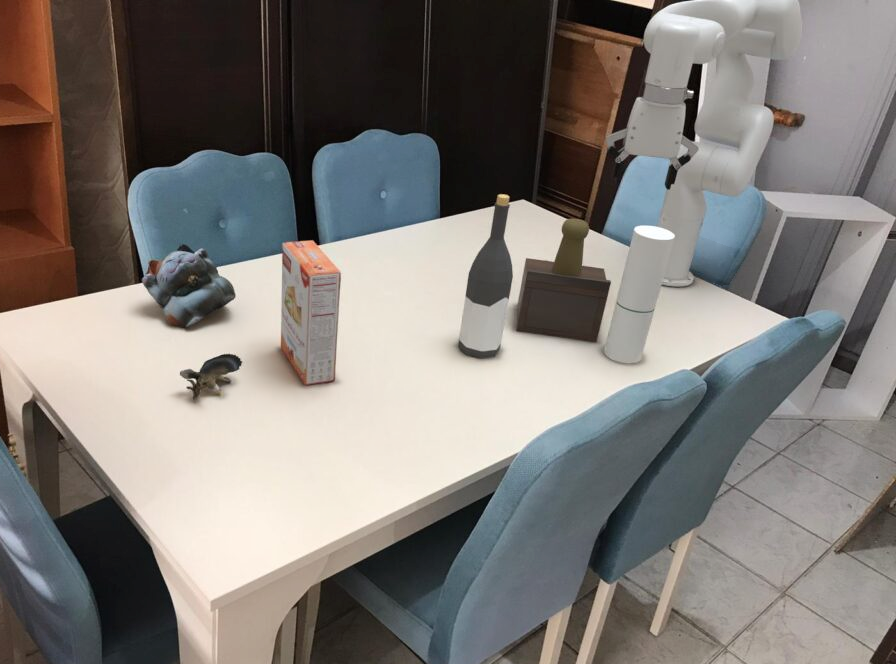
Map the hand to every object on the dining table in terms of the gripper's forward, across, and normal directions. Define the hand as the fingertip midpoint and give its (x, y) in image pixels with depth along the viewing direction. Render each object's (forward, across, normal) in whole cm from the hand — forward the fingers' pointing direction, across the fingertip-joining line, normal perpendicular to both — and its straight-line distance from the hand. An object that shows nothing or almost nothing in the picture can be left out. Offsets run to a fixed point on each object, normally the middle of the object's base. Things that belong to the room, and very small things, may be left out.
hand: (642, 184), depth 164 cm
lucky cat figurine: (+27, +83, +29) cm, 92 cm away
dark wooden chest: (+28, +12, +9) cm, 32 cm away
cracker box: (+27, +56, +42) cm, 75 cm away
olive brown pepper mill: (+17, +12, +8) cm, 22 cm away
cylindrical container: (+28, -1, +18) cm, 34 cm away
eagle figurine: (+26, +69, +55) cm, 92 cm away
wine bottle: (+28, +27, +25) cm, 46 cm away
